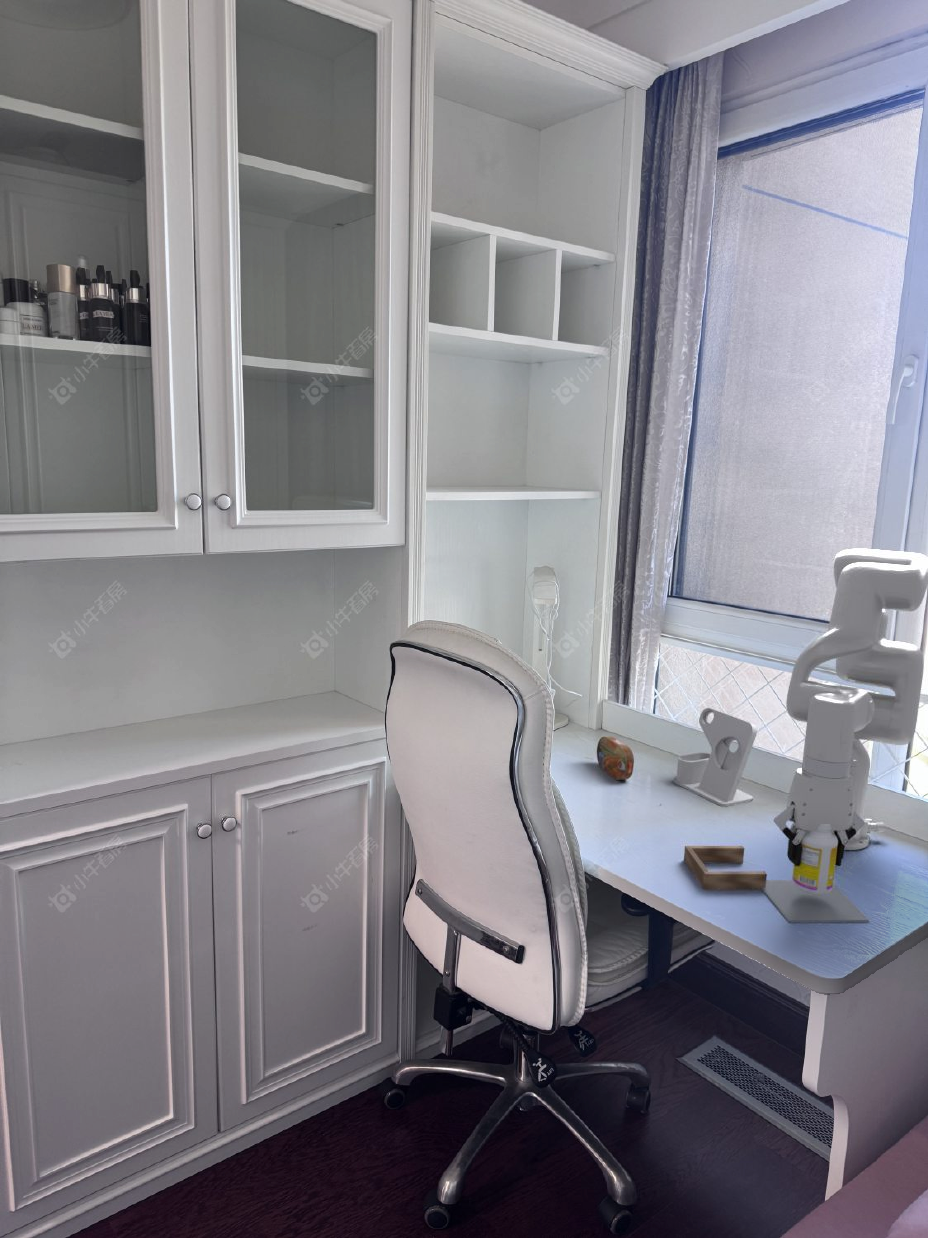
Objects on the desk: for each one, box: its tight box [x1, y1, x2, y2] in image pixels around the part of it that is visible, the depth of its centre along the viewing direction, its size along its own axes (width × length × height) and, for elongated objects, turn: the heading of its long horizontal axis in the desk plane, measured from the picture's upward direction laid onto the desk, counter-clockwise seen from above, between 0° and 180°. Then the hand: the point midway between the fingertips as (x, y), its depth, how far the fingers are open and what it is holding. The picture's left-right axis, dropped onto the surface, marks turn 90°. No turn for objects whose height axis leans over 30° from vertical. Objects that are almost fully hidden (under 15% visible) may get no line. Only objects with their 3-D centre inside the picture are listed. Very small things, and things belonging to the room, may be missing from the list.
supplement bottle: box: [792, 824, 838, 895], centre depth 150 cm, size 7×7×13 cm
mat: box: [761, 879, 870, 923], centre depth 152 cm, size 14×14×1 cm
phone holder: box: [673, 707, 758, 808], centre depth 201 cm, size 17×10×18 cm, turn 28°
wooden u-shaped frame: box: [683, 845, 768, 890], centre depth 161 cm, size 11×11×3 cm
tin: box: [596, 736, 635, 781], centre depth 211 cm, size 15×3×8 cm, turn 17°
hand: (814, 862), depth 151 cm, fingers closed on supplement bottle, 6 cm apart
